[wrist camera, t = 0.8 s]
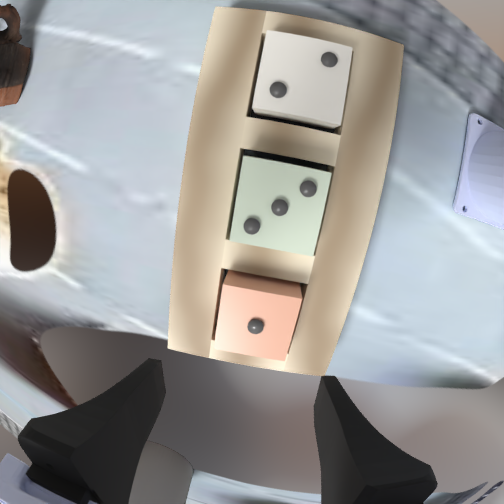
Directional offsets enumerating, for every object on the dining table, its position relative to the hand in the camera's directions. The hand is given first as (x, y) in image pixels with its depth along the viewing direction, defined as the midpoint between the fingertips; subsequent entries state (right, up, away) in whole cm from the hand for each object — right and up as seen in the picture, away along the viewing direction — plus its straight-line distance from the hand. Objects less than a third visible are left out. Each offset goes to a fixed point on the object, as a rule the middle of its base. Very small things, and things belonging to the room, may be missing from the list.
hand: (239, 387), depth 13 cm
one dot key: (+1, +3, +10) cm, 10 cm away
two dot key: (+4, +17, +5) cm, 18 cm away
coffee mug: (-13, -22, +19) cm, 32 cm away
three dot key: (+2, +10, +8) cm, 13 cm away
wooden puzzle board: (+2, +10, +8) cm, 13 cm away
